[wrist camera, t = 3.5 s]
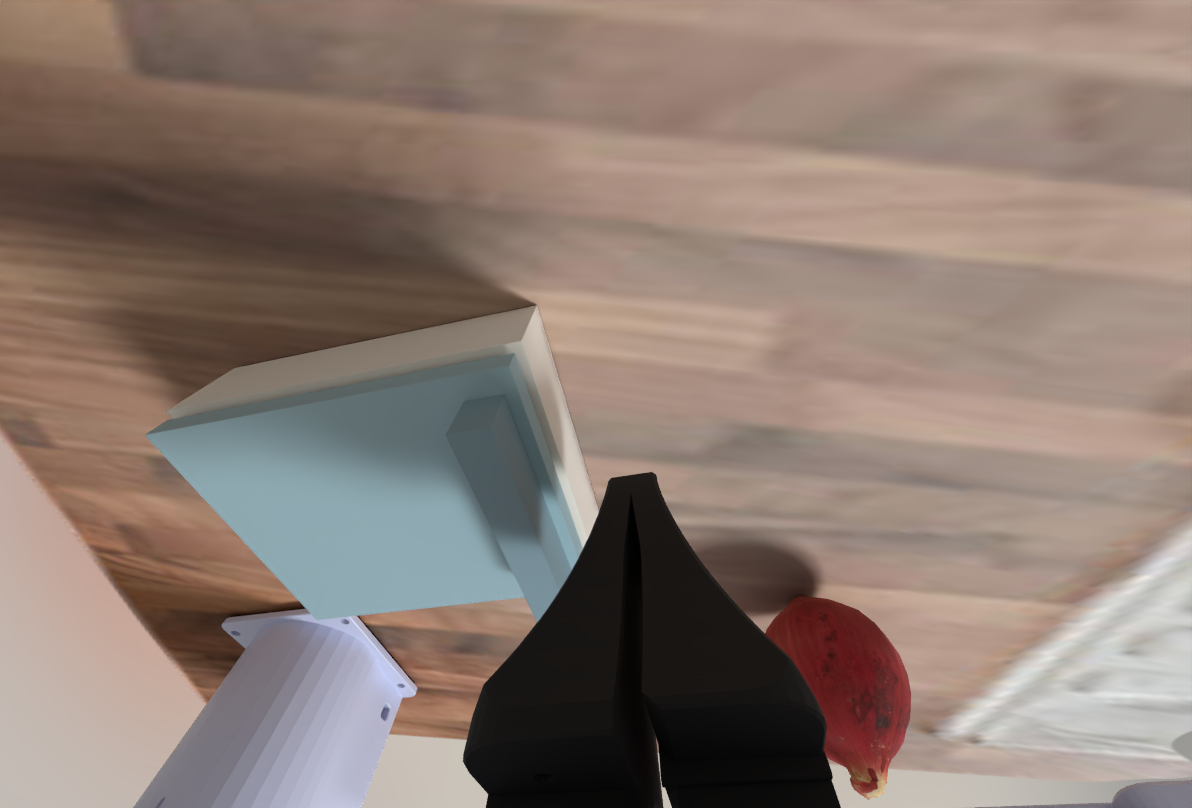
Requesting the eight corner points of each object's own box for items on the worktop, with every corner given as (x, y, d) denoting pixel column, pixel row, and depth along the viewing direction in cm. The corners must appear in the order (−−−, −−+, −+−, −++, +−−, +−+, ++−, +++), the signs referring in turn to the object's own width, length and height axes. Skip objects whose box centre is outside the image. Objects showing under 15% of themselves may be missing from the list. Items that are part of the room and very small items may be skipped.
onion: (785, 548, 21) (868, 748, 14) (884, 580, 22) (1007, 781, 15) (723, 614, 24) (767, 806, 17) (813, 639, 25) (888, 831, 18)
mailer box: (599, 512, 20) (597, 567, 18) (362, 544, 22) (329, 599, 19) (536, 305, 15) (521, 340, 12) (234, 368, 17) (165, 410, 14)
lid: (591, 571, 17) (588, 631, 15) (327, 602, 19) (292, 659, 17) (514, 353, 12) (495, 396, 10) (168, 420, 14) (91, 469, 12)
